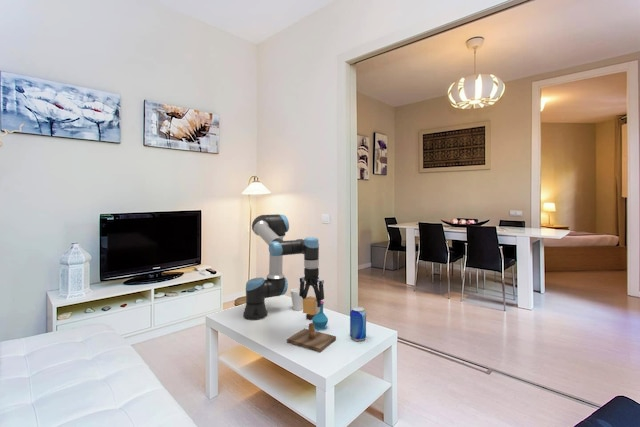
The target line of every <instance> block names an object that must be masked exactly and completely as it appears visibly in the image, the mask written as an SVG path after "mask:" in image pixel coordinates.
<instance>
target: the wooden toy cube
mask: <svg viewBox="0 0 640 427" xmlns="http://www.w3.org/2000/svg"><path fill="white" fill-rule="evenodd" d="M316 300H317V299H316V296H310V295H309V296H307V297H306V298H305V299H303V309H302V313H303V314H305V315H307V314H310V315H315V314H316V308H315V301H316Z"/></svg>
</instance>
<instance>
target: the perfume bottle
mask: <svg viewBox="0 0 640 427" xmlns="http://www.w3.org/2000/svg"><path fill="white" fill-rule="evenodd" d="M324 304H325V302H324V301H323V300H321V306H320V312H319V313H317V314H315V316H314V317H313V318H312V320H311V321H312V323H314V324H315V330H318V331H319V330H325V329H326V328H327V324H328V322H329V318H328V317H327V315H326V314H325V313H324Z"/></svg>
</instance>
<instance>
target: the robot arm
mask: <svg viewBox="0 0 640 427" xmlns="http://www.w3.org/2000/svg"><path fill="white" fill-rule="evenodd" d="M251 230H252V232H253V233H254V234H255V235H256V236H259V237H260V239H262V240H263V241H264V243H265V244H266V245H268V252H269V257H268V258H269V262H268V263H269V264H268V267H269V268H268V274H267V275H266V279H265V278H264V277H255V278H251V279H249V280H247V281H246V284H245V307H244V310H243V318H244V319H246V320H251V321H255V320H256V321H257V320H262V319H264V318H266V317H268V309H267V306H266V302H265V301H266V300H265V299H268V298H274V297H275V298H276V297H281V296H284V295H285V294H286V293H287V291H288V284H289V283H288V279H287V278H286V277H285V275H284V274H283V264H284V262H283V261H284V260H283V259H284V258H283V256H291V255H301V254H302V255H303V262H304V263H303V267H304V268H303V270H304V271H303V274H304V276H302V277H300V278H299V288H300V293H299V296H300V297H302V298H303V299H305V298H307V297H308V294H309V290H310V286H311V287H312V289H313V292H314V295H315V296H314V297H316V299H317V300H316V301H315V308H316V314H317V313H319V312H320V306H321V301H323V300H324V299H325V291H324V290H325V289H324V282H325V281H324V279H322V280H321V279H320V277H319V276H320V275H319V274H320V273H319V272H320V268H319V267H320V260H319V258H320V256H319V253H320V252H319V250H320V243H319V239H318V237H314V236H312V237H311V236H310V237H309V236H308V237H305V238H304V239H303V238H298V239H295V240H291V239H290V240H284V238H285V237H286V233H288V232H289V230H290V223H289V219H288V217H287V216H286V215H284V214H279V213H278V214H276V213H275V214H260V215H259V216H256V217H255V218H254V219H253V220H252V223H251Z"/></svg>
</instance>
